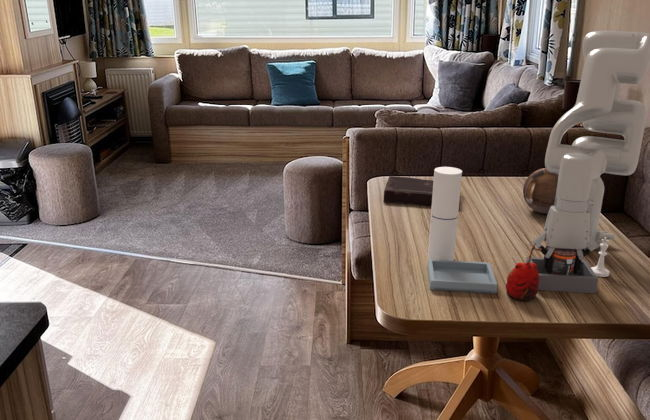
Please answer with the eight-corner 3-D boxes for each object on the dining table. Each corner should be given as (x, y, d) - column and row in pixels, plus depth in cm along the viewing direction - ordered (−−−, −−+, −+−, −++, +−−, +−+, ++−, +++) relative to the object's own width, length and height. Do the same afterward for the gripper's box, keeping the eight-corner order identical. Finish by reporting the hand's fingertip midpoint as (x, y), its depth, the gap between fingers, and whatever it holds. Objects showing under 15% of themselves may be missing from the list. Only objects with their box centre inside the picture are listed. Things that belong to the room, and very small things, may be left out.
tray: (488, 271, 166) (489, 262, 166) (496, 293, 154) (497, 284, 153) (427, 267, 168) (428, 259, 167) (430, 289, 156) (430, 280, 155)
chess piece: (607, 278, 164) (614, 242, 160) (587, 274, 166) (593, 238, 163) (610, 271, 167) (617, 236, 164) (591, 267, 170) (597, 232, 167)
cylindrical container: (438, 265, 170) (445, 175, 161) (422, 255, 176) (428, 168, 167) (459, 260, 173) (467, 172, 164) (443, 251, 179) (450, 165, 170)
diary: (457, 209, 214) (458, 195, 212) (383, 203, 218) (384, 190, 216) (457, 193, 231) (458, 180, 229) (388, 188, 235) (389, 175, 234)
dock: (583, 274, 166) (585, 260, 164) (595, 293, 155) (598, 278, 154) (524, 270, 167) (526, 257, 166) (533, 289, 157) (535, 275, 155)
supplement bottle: (573, 288, 158) (580, 246, 154) (548, 285, 159) (554, 244, 155) (569, 278, 163) (575, 237, 160) (545, 275, 165) (551, 235, 161)
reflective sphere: (557, 205, 218) (563, 163, 213) (575, 220, 204) (582, 175, 199) (514, 204, 218) (519, 162, 213) (529, 220, 204) (535, 175, 199)
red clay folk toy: (530, 289, 157) (538, 233, 152) (542, 302, 150) (551, 244, 145) (500, 290, 156) (507, 234, 151) (512, 304, 150) (519, 245, 144)
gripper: (602, 200, 157) (591, 267, 163) (531, 197, 158) (522, 263, 165) (612, 210, 150) (600, 279, 156) (538, 207, 151) (528, 275, 157)
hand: (560, 270), depth 160 cm, fingers closed on supplement bottle, 6 cm apart
